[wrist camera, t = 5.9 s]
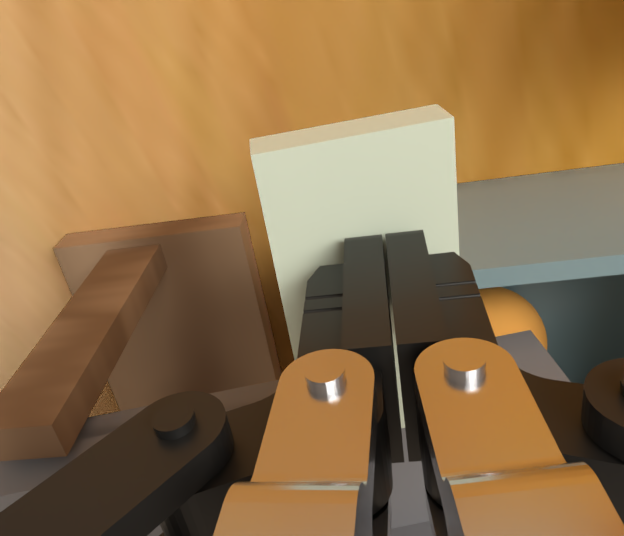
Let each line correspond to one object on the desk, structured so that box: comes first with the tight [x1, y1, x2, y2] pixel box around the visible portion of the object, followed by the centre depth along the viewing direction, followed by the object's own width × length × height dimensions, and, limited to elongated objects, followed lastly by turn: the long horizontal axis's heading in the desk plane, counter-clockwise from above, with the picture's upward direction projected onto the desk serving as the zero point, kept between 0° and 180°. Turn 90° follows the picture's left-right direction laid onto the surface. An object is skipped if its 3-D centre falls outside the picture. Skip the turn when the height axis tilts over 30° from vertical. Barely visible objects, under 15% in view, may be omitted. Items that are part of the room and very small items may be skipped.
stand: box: [0, 212, 282, 461], centre depth 20 cm, size 7×10×10 cm
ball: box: [479, 287, 548, 350], centre depth 21 cm, size 4×4×4 cm
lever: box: [0, 104, 571, 536], centre depth 15 cm, size 17×14×3 cm
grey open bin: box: [457, 163, 624, 384], centre depth 18 cm, size 10×10×12 cm
